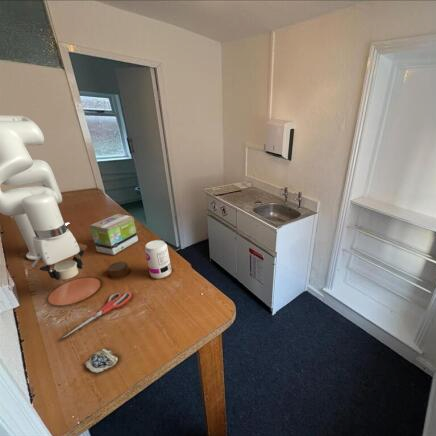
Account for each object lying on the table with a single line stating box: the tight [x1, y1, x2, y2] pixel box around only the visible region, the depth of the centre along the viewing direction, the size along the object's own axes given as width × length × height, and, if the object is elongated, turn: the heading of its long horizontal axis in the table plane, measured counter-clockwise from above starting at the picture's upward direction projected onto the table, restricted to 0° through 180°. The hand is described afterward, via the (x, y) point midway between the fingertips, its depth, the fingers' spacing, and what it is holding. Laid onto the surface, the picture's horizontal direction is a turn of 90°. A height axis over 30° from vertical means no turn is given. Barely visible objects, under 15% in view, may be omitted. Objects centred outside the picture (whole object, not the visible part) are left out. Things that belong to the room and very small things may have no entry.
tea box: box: [89, 213, 139, 256], centre depth 115 cm, size 15×10×15 cm
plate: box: [47, 277, 101, 306], centre depth 89 cm, size 15×15×1 cm
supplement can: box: [144, 239, 172, 280], centre depth 99 cm, size 8×8×15 cm
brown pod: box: [107, 261, 129, 279], centre depth 99 cm, size 7×7×4 cm
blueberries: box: [84, 348, 119, 374], centre depth 66 cm, size 7×8×2 cm
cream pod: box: [54, 260, 80, 280], centre depth 85 cm, size 6×6×4 cm
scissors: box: [63, 292, 133, 338], centre depth 80 cm, size 8×21×2 cm, turn 170°
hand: (68, 272), depth 86 cm, fingers closed on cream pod, 6 cm apart
